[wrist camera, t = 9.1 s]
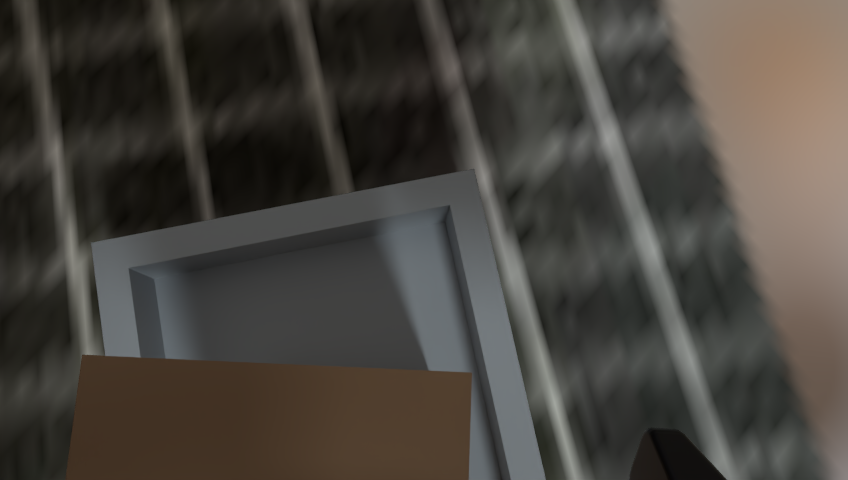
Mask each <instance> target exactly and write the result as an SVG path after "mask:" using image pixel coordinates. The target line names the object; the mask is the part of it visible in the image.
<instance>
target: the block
mask: <svg viewBox="0 0 848 480" xmlns="http://www.w3.org/2000/svg"><path fill="white" fill-rule="evenodd" d="M471 390H472V373H471V372H449V371H427V370H405V369H383V368H361V367H339V366H317V365H295V364H273V363H251V362H229V361H207V360H185V359H163V358H141V357H119V356H97V355H82V360H81V368H80V375H79V383H78V390H77V398H76V405H75V413H74V420H73V428H72V435H71V443H70V450H69V458H68V465H67V473H66V480H469V455H470V422H471Z"/></svg>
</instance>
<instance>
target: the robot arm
mask: <svg viewBox="0 0 848 480" xmlns="http://www.w3.org/2000/svg"><path fill="white" fill-rule="evenodd" d="M629 480H726V478H725V477H724V476H723V475H722V474H721V473H720V472H719V471H718V470H717V469H716V468H715V467H714V465H713V464H712V463H711V462H710V461H709V460H708V459H707V458H706V457H705V456H704V455H703V454H702V452H701V451H700V450H699V449H698V448H697V447H696V446H695V445H694V444H693V443H692V442H691V441H690V439H689V438H688V437H687V436H686V435H685V434H684V433H682V432H681V431H679V430H677V429H667V428H648V429H647V430H645V432H644V433H643V435H642V438H641V441H640V444H639V447H638V449H637V452H636V455H635V458H634V461H633V464H632V467H631V471H630V479H629Z"/></svg>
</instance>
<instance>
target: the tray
mask: <svg viewBox="0 0 848 480" xmlns="http://www.w3.org/2000/svg"><path fill="white" fill-rule="evenodd" d="M91 246H92V254H93V262H94V270H95V277H96V285H97V293H98V301H99V309H100V317H101V325H102V333H103V340H104V348H105V356H119V357H141V358H163V359H185V360H207V361H229V362H251V363H273V364H295V365H317V366H339V367H361V368H383V369H405V370H427V371H449V372H471V373H472V390H471V422H470V455H469V480H546V479H545V475H544V470H543V466H542V461H541V457H540V453H539V448H538V444H537V440H536V435H535V431H534V427H533V422H532V418H531V414H530V409H529V405H528V401H527V396H526V392H525V388H524V383H523V379H522V375H521V370H520V366H519V362H518V357H517V353H516V349H515V344H514V340H513V336H512V331H511V327H510V323H509V318H508V314H507V310H506V305H505V301H504V297H503V292H502V288H501V283H500V279H499V275H498V270H497V266H496V262H495V257H494V253H493V249H492V244H491V240H490V236H489V231H488V227H487V223H486V218H485V214H484V210H483V205H482V201H481V197H480V192H479V188H478V184H477V179H476V175H475V171H474V169H470V170H465V171H460V172H455V173H449V174H444V175H439V176H434V177H429V178H424V179H418V180H413V181H408V182H403V183H398V184H393V185H387V186H382V187H377V188H372V189H367V190H362V191H356V192H351V193H346V194H341V195H336V196H331V197H325V198H320V199H315V200H310V201H305V202H300V203H294V204H289V205H284V206H279V207H274V208H269V209H263V210H258V211H253V212H248V213H243V214H238V215H232V216H227V217H222V218H217V219H212V220H206V221H201V222H196V223H191V224H186V225H181V226H175V227H170V228H165V229H160V230H155V231H150V232H144V233H139V234H134V235H129V236H124V237H119V238H113V239H108V240H103V241H98V242H93V243H91Z"/></svg>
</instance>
